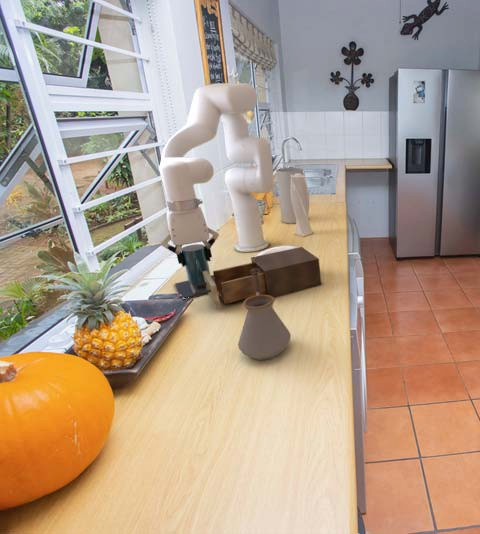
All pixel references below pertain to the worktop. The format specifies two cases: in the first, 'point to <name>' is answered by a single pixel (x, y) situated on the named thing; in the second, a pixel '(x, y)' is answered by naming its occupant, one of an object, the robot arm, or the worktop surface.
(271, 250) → the banana
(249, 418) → the worktop surface
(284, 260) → the cabinet
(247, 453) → the worktop surface
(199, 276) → the teal blue cylinder
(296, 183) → the skyscraper
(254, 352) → the turkish coffee pot
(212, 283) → the drawer
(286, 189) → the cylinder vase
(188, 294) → the mat
